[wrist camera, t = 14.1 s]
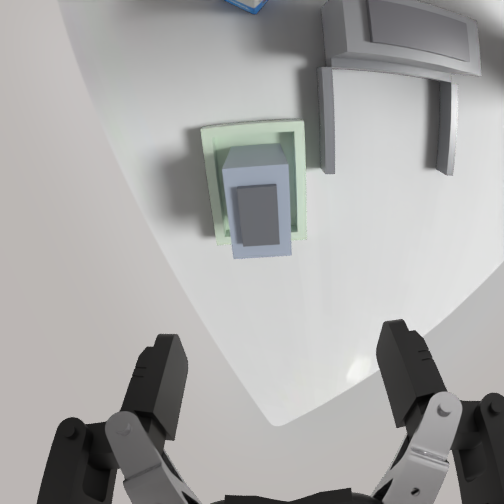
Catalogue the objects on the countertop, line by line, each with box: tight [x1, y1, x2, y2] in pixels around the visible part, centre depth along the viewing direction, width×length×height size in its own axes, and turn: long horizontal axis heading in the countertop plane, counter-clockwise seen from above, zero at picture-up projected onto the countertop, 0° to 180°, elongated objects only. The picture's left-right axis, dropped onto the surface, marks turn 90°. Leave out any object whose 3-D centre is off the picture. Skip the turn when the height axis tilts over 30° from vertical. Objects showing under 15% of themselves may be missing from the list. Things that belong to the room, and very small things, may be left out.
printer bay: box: [317, 0, 481, 176], centre depth 23 cm, size 16×18×9 cm
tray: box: [200, 119, 307, 245], centre depth 31 cm, size 10×13×2 cm
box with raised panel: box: [222, 143, 292, 259], centre depth 28 cm, size 5×8×10 cm, turn 5°
